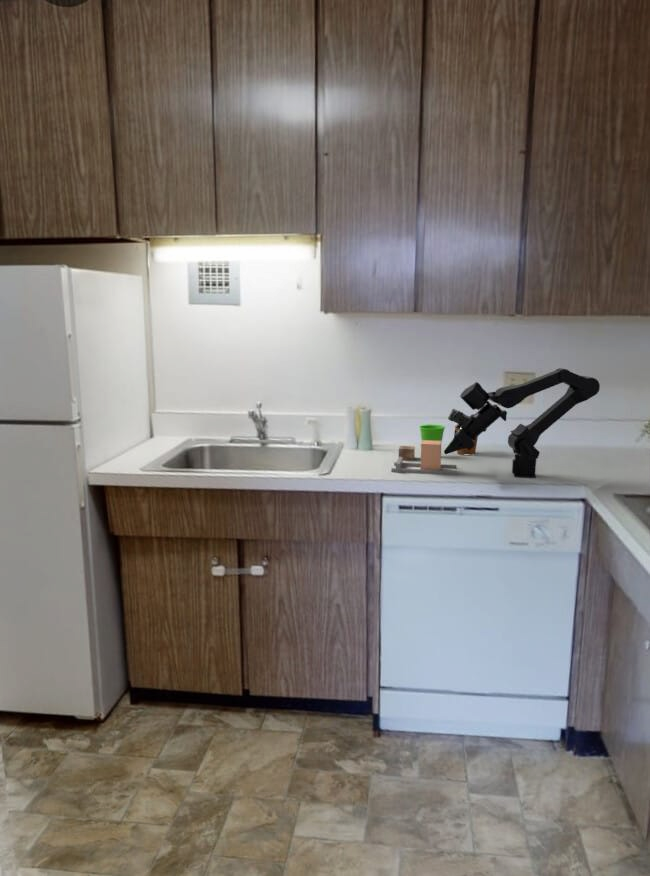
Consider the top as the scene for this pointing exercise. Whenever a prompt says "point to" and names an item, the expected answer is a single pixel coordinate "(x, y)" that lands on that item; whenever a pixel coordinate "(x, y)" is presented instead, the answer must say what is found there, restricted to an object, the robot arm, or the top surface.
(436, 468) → the terracotta block
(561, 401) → the robot arm
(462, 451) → the disposable coffee cup
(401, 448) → the walnut block
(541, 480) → the top surface
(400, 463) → the track
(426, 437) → the cup
